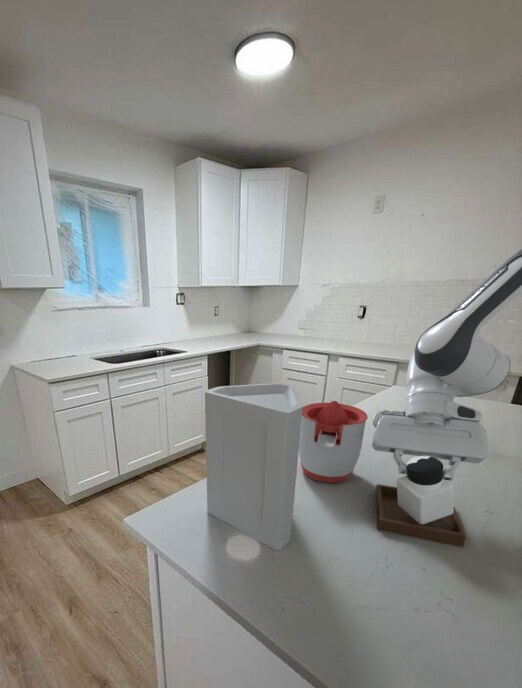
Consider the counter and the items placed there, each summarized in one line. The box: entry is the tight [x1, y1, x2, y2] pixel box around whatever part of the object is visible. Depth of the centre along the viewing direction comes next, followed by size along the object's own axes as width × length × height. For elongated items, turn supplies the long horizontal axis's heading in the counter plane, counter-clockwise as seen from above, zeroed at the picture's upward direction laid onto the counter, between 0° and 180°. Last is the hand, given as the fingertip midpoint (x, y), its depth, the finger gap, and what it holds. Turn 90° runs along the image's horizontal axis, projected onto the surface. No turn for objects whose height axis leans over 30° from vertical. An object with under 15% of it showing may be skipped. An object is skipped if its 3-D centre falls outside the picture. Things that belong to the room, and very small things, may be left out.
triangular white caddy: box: [204, 382, 304, 551], centre depth 74 cm, size 19×15×28 cm
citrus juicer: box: [298, 400, 369, 484], centre depth 91 cm, size 16×17×20 cm
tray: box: [374, 483, 467, 548], centre depth 77 cm, size 15×15×3 cm
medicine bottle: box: [396, 456, 456, 525], centre depth 72 cm, size 7×7×12 cm
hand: (425, 476), depth 72 cm, fingers closed on medicine bottle, 6 cm apart
